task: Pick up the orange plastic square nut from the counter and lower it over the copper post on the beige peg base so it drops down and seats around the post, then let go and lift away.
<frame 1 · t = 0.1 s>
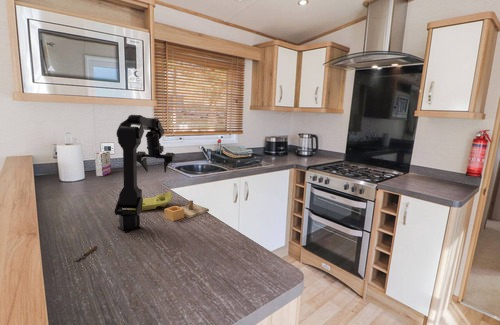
hand: (156, 171, 136), 15 cm above the countertop, tool pointing down, fingers open, 9 cm apart
beige peg base: (190, 211, 126), on the countertop
orange nut: (174, 217, 118), on the countertop
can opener: (86, 256, 85), on the countertop
plastic component: (150, 208, 130), on the countertop
candy bar box: (103, 175, 190), on the countertop
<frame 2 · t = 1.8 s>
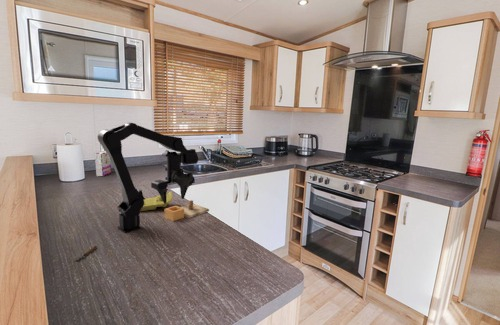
hand: (174, 201, 117), 8 cm above the countertop, tool pointing down, fingers open, 9 cm apart
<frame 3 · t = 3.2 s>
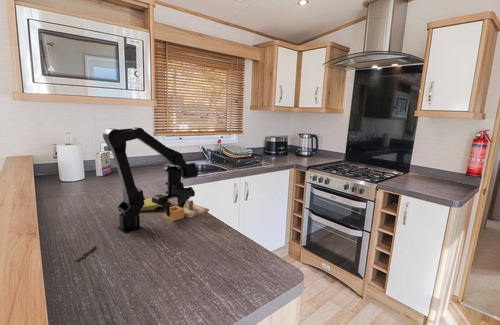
hand: (174, 214, 118), 1 cm above the countertop, tool pointing down, fingers closed on orange nut, 6 cm apart
orange nut: (174, 217, 118), on the countertop, touching gripper
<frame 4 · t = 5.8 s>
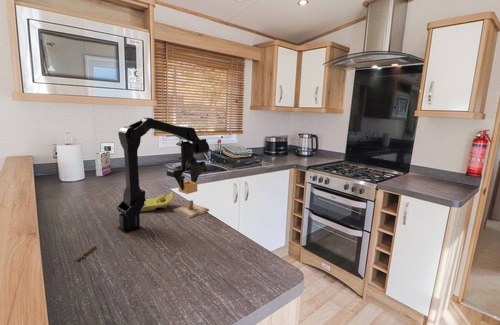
hand: (188, 188, 123), 12 cm above the countertop, tool pointing down, fingers closed on orange nut, 6 cm apart
orange nut: (188, 191, 123), point 10 cm above the countertop, touching gripper
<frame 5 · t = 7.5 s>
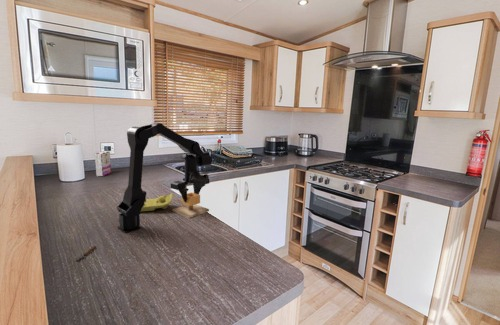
hand: (190, 200, 125), 5 cm above the countertop, tool pointing down, fingers closed on orange nut, 6 cm apart
orange nut: (190, 203, 126), point 4 cm above the countertop, touching gripper
when the fingers open (5 cm above the countertop, at t = 8.2 s): orange nut drops 3 cm, resting on beige peg base.
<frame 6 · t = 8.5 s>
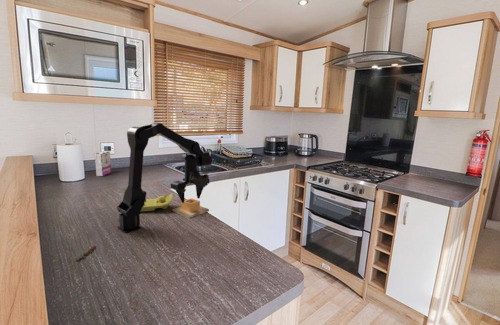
hand: (190, 200, 125), 5 cm above the countertop, tool pointing down, fingers open, 9 cm apart
orange nut: (190, 209, 126), point 1 cm above the countertop, touching beige peg base
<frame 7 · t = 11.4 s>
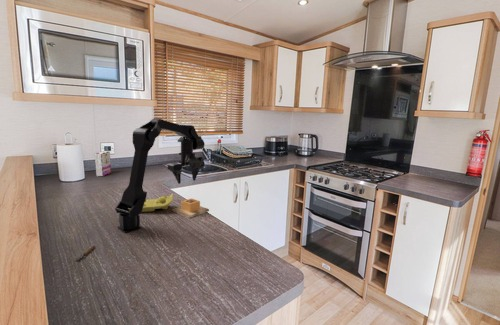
hand: (186, 182, 132), 12 cm above the countertop, tool pointing down, fingers open, 9 cm apart
at the end: orange nut 0.1 cm off-centre on the beige peg base, point 1.0 cm above the beige peg base's base; orange nut tilted 0°; the gripper is holding nothing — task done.
